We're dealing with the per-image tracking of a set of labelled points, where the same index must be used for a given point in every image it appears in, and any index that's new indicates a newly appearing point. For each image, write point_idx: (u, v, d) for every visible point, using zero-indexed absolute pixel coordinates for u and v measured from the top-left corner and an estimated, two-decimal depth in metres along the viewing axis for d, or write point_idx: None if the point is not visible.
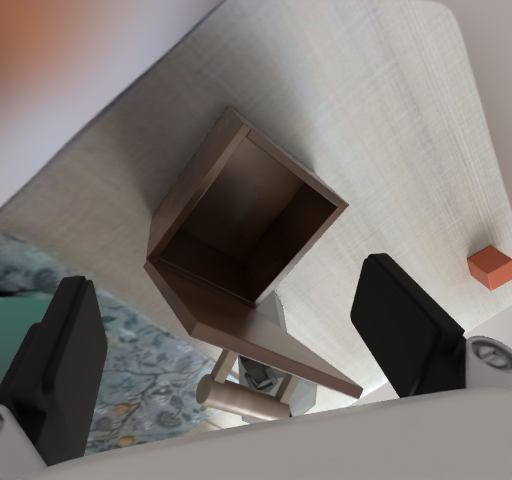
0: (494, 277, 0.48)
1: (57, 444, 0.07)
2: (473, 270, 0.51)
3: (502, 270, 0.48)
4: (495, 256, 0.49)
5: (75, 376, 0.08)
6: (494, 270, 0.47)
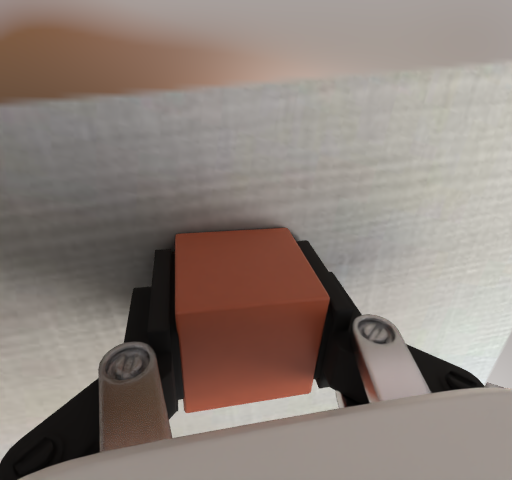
0: (233, 388, 0.10)
1: (174, 380, 0.09)
2: None
3: (219, 359, 0.09)
4: None
5: None
6: None
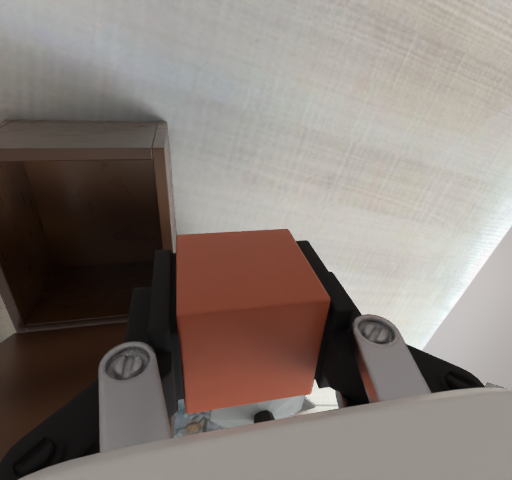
0: (234, 389, 0.10)
1: (174, 381, 0.09)
2: None
3: (220, 360, 0.09)
4: None
5: None
6: None
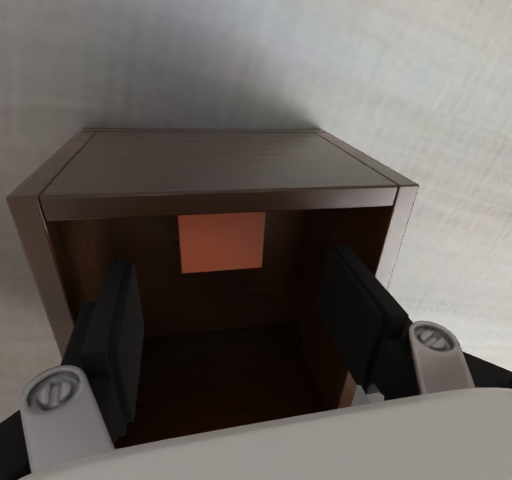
0: (211, 256, 0.16)
1: (117, 405, 0.08)
2: None
3: (201, 232, 0.15)
4: None
5: (127, 347, 0.09)
6: (180, 254, 0.15)
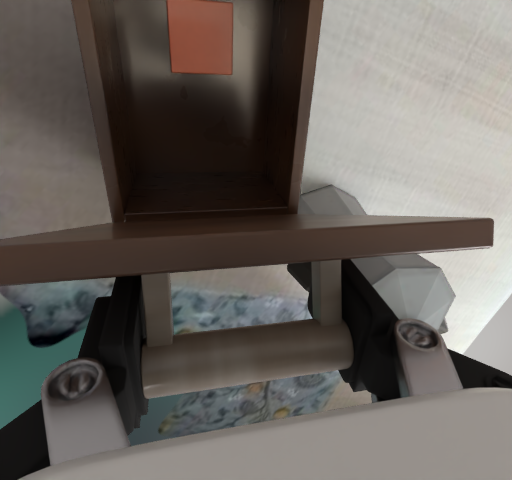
0: (193, 58, 0.21)
1: (132, 397, 0.08)
2: None
3: (185, 33, 0.21)
4: None
5: (141, 341, 0.09)
6: None
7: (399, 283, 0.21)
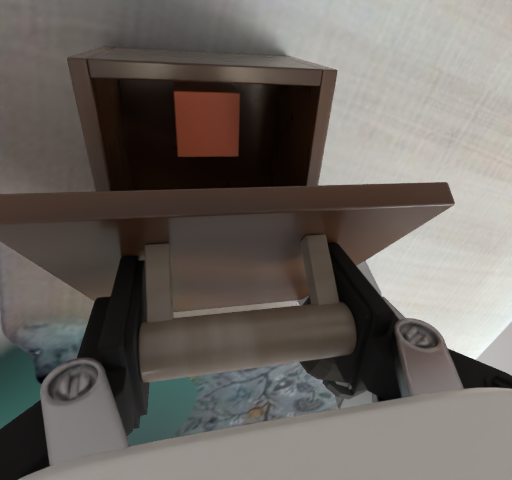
0: (199, 143, 0.21)
1: (131, 397, 0.08)
2: None
3: (192, 122, 0.21)
4: None
5: None
6: (176, 140, 0.21)
7: None
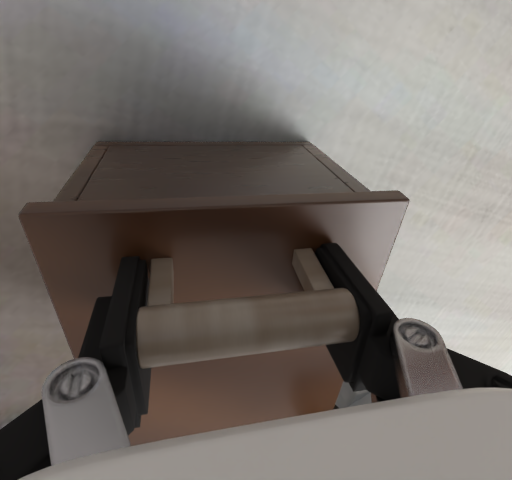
0: None
1: (132, 397, 0.08)
2: None
3: None
4: None
5: None
6: None
7: None
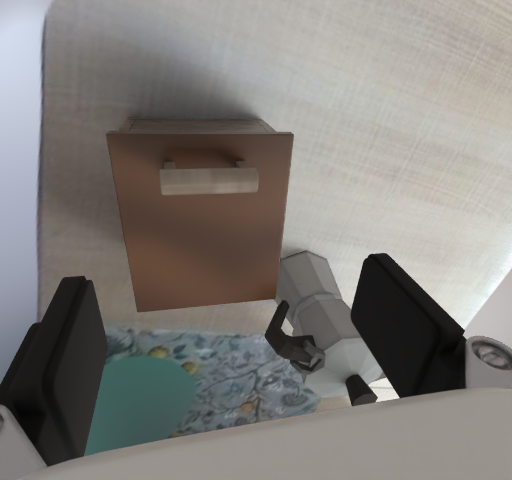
0: None
1: (57, 444, 0.07)
2: None
3: None
4: None
5: (75, 376, 0.08)
6: None
7: (344, 349, 0.29)
